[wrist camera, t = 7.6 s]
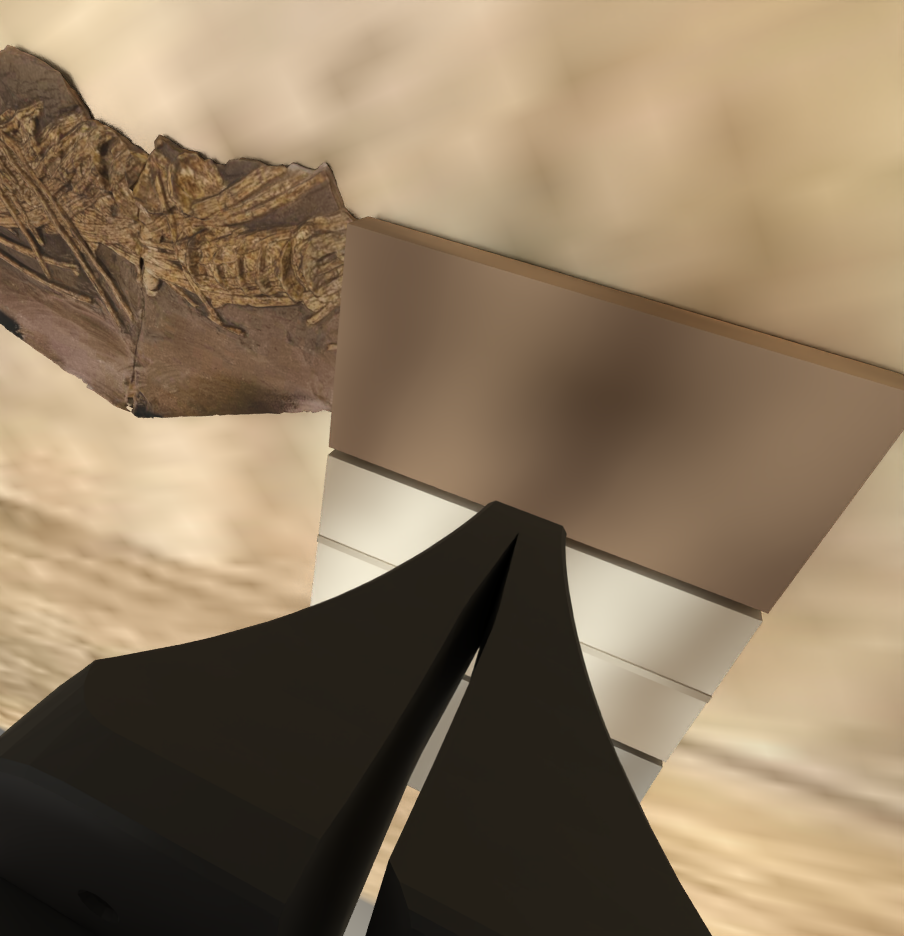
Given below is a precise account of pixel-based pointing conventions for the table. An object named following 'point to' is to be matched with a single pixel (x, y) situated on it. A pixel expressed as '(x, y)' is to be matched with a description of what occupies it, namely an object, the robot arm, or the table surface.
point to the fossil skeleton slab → (164, 261)
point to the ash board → (591, 590)
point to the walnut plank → (602, 410)
